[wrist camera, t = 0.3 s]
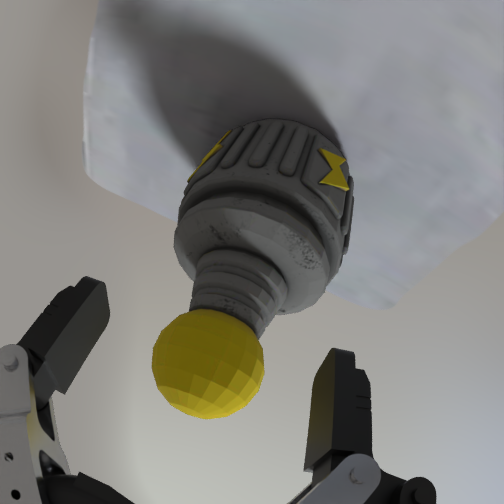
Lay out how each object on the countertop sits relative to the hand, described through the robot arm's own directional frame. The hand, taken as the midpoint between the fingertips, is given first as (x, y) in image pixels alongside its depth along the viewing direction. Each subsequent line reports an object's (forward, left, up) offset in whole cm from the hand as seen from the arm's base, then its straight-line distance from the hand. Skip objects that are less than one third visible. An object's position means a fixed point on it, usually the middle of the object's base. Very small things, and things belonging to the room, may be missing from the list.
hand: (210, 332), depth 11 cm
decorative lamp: (+12, -10, -29) cm, 33 cm away
